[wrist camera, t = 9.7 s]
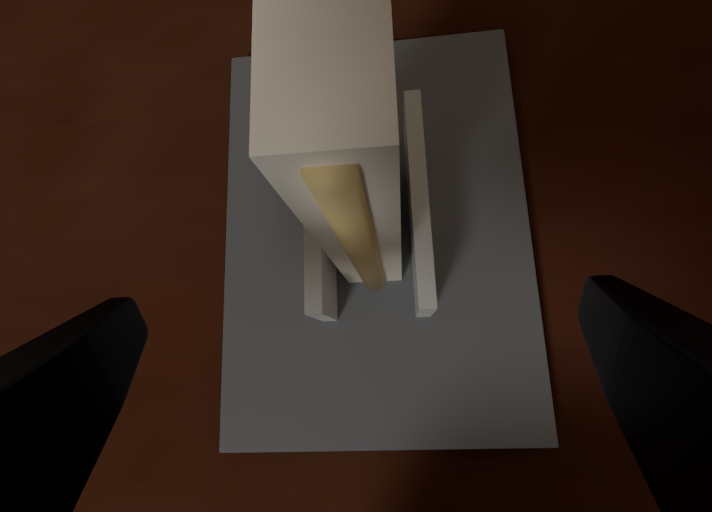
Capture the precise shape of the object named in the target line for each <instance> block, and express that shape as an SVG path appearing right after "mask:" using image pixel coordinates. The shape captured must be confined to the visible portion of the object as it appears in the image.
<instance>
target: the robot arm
mask: <svg viewBox="0 0 712 512" xmlns="http://www.w3.org/2000/svg"><path fill="white" fill-rule="evenodd" d="M578 318H579V323H580V326H581V329H582V332H583V335H584V338H585V341H586V343H587V346H588V349H589V352H590V355H591V358H592V361H593V364H594V367H595V370H596V372H597V375H598V378H599V381H600V384H601V386H602V389H603V392H604V394H605V397H606V399H607V401H608V403H609V405H610V408H611V410H612V412H613V414H614V416H615V418H616V420H617V422H618V424H619V426H620V428H621V430H622V432H623V434H624V436H625V439H626V441H627V443H628V445H629V447H630V449H631V451H632V453H633V455H634V457H635V459H636V461H637V463H638V465H639V468H640V470H641V472H642V474H643V476H644V478H645V480H646V482H647V484H648V486H649V488H650V490H651V492H652V494H653V496H654V499H655V501H656V503H657V505H658V507H659V509H660V511H661V512H712V324H710V323H708V322H706V321H704V320H702V319H700V318H698V317H696V316H694V315H692V314H690V313H688V312H686V311H684V310H682V309H680V308H678V307H676V306H673V305H671V304H669V303H667V302H665V301H663V300H661V299H659V298H657V297H655V296H653V295H651V294H649V293H647V292H645V291H643V290H641V289H639V288H637V287H635V286H633V285H631V284H629V283H627V282H625V281H623V280H621V279H619V278H617V277H615V276H612V275H599V276H590V277H588V278H587V279H586V281H585V284H584V288H583V292H582V297H581V301H580V306H579V311H578ZM147 337H148V329H147V326H146V323H145V321H144V319H143V317H142V315H141V313H140V310H139V308H138V306H137V304H136V302H135V301H134V300H133V299H132V298H130V297H119V298H110V299H108V300H106V301H104V302H102V303H100V304H98V305H96V306H95V307H93V308H91V309H89V310H87V311H85V312H83V313H81V314H80V315H78V316H76V317H74V318H72V319H70V320H68V321H66V322H65V323H63V324H61V325H59V326H57V327H55V328H53V329H51V330H50V331H48V332H46V333H44V334H42V335H40V336H38V337H36V338H35V339H33V340H31V341H29V342H27V343H25V344H23V345H21V346H20V347H18V348H16V349H14V350H12V351H10V352H8V353H6V354H5V355H3V356H1V357H0V512H73V510H74V508H75V506H76V504H77V502H78V499H79V497H80V495H81V493H82V491H83V489H84V487H85V485H86V483H87V481H88V478H89V476H90V474H91V472H92V470H93V468H94V466H95V464H96V462H97V460H98V457H99V455H100V453H101V451H102V449H103V447H104V445H105V443H106V441H107V438H108V436H109V434H110V432H111V430H112V428H113V426H114V424H115V422H116V420H117V417H118V415H119V413H120V411H121V409H122V406H123V404H124V402H125V399H126V396H127V394H128V391H129V388H130V386H131V383H132V380H133V377H134V374H135V372H136V369H137V366H138V363H139V360H140V358H141V355H142V352H143V349H144V346H145V343H146V341H147Z"/></svg>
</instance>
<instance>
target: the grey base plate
mask: <svg viewBox="0 0 712 512" xmlns="http://www.w3.org/2000/svg"><path fill="white" fill-rule="evenodd" d="M393 45H394V62H395V79H396V96H397V114H398V131H399V154H400V210H401V266H402V280H397V281H385V284H384V286H383V287H382V288H381V289H379V290H376V291H373V290H370V289H368V288H367V287H366V286H365V284H364V283H363V282H355V283H349V282H348V281H347V279H346V278H345V277H344V276H343V274H342V273H341V272H340V271H339V269H338V268H337V267H336V266H335V264H334V263H333V262H332V261H331V259H330V258H329V257H328V256H327V254H326V253H325V252H324V251H323V249H322V248H321V247H320V246H319V244H318V243H317V242H316V241H315V239H314V238H313V237H312V236H311V234H310V233H309V232H308V231H307V229H306V228H305V227H304V226H303V224H302V223H301V222H300V220H299V219H298V218H297V217H296V215H295V214H294V213H293V212H292V210H291V209H290V208H289V207H288V205H287V204H286V203H285V202H284V200H283V199H282V198H281V197H280V195H279V194H278V193H277V192H276V190H275V189H274V188H273V187H272V185H271V184H270V183H269V182H268V180H267V179H266V178H265V177H264V175H263V174H262V173H261V172H260V170H259V169H258V168H257V166H256V165H255V164H254V163H253V161H252V160H251V159H250V158H249V131H250V93H251V56H248V57H239V58H232V68H231V99H230V131H229V163H228V195H227V227H226V258H225V290H224V322H223V354H222V386H221V417H220V449H219V453H243V452H310V451H376V450H442V449H509V448H559V446H558V438H557V431H556V423H555V416H554V408H553V400H552V393H551V385H550V378H549V370H548V362H547V355H546V347H545V340H544V332H543V324H542V317H541V309H540V301H539V294H538V286H537V279H536V271H535V263H534V256H533V248H532V241H531V233H530V225H529V218H528V210H527V202H526V195H525V187H524V180H523V172H522V164H521V157H520V149H519V142H518V134H517V126H516V119H515V111H514V103H513V96H512V88H511V81H510V73H509V65H508V58H507V50H506V43H505V35H504V29H500V30H490V31H481V32H472V33H462V34H453V35H444V36H434V37H425V38H416V39H406V40H397V41H393Z"/></svg>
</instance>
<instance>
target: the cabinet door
mask: <svg viewBox="0 0 712 512" xmlns="http://www.w3.org/2000/svg"><path fill="white" fill-rule="evenodd" d="M249 158H250V159H251V160H252V161H253V163H254V164H255V165H256V166H257V168H258V169H259V170H260V172H261V173H262V174H263V175H264V177H265V178H266V179H267V180H268V182H269V183H270V184H271V185H272V187H273V188H274V189H275V190H276V192H277V193H278V194H279V195H280V197H281V198H282V199H283V200H284V202H285V203H286V204H287V205H288V207H289V208H290V209H291V210H292V212H293V213H294V214H295V215H296V217H297V218H298V219H299V220H300V222H301V223H302V224H303V226H304V227H305V228H306V229H307V231H308V232H309V233H310V234H311V236H312V237H313V238H314V239H315V241H316V242H317V243H318V244H319V246H320V247H321V248H322V249H323V251H324V252H325V253H326V254H327V256H328V257H329V258H330V259H331V261H332V262H333V263H334V264H335V266H336V267H337V268H338V269H339V271H340V272H341V273H342V274H343V276H344V277H345V278H346V279H347V281H348V282H349V283H355V282H363V283H364V284H365V286H366V287H367V288H368V289H370V290H373V291H376V290H379V289H381V288H382V287H383V286H384V284H385V281H397V280H402V266H401V210H400V154H399V131H398V114H397V96H396V79H395V62H394V45H393V28H392V11H391V0H253V15H252V54H251V93H250V131H249Z"/></svg>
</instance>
